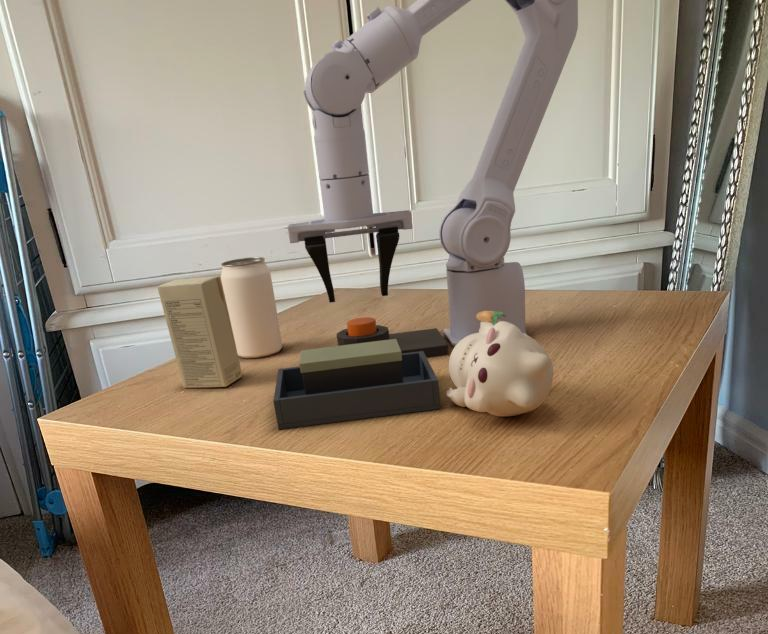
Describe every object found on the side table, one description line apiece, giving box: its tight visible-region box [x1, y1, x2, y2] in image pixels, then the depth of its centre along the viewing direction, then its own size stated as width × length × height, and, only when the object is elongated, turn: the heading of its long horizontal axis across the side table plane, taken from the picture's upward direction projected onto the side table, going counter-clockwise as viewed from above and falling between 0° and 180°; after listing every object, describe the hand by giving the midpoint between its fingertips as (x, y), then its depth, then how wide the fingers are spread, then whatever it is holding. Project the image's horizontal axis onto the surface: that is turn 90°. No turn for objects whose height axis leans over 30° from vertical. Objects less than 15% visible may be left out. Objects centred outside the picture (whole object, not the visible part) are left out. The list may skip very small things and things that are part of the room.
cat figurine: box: [445, 311, 554, 417], centre depth 71 cm, size 10×8×15 cm
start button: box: [346, 316, 377, 336], centre depth 94 cm, size 4×4×2 cm
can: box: [220, 256, 283, 360], centre depth 100 cm, size 6×6×12 cm
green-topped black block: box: [299, 339, 403, 395], centre depth 78 cm, size 10×5×5 cm, turn 95°
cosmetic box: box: [156, 275, 243, 389], centre depth 89 cm, size 6×4×12 cm
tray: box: [272, 351, 441, 430], centre depth 79 cm, size 16×11×3 cm
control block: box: [336, 324, 449, 358], centre depth 95 cm, size 13×9×3 cm
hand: (358, 297), depth 92 cm, fingers open, 6 cm apart
